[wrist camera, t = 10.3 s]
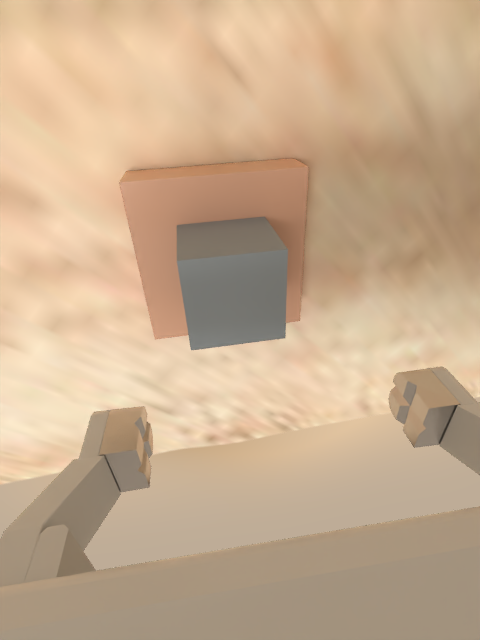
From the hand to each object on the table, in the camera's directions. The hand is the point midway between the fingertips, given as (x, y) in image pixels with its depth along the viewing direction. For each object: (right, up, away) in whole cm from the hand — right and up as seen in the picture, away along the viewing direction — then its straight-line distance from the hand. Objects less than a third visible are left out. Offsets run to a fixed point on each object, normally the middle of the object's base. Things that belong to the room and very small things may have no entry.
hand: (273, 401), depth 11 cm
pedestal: (-3, +8, +12) cm, 15 cm away
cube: (-2, +6, +10) cm, 12 cm away
